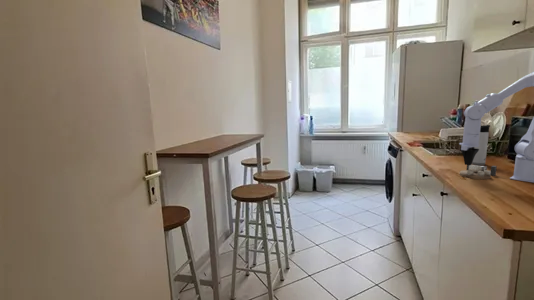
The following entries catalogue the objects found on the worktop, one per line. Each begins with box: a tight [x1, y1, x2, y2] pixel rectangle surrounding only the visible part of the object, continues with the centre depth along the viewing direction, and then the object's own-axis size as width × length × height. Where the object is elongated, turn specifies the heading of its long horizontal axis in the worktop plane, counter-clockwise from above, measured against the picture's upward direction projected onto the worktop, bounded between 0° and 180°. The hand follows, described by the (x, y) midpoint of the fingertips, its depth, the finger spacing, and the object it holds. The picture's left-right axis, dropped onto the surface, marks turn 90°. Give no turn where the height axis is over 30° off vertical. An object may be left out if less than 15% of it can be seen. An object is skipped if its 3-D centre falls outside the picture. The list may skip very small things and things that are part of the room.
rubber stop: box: [490, 165, 498, 177], centre depth 126 cm, size 1×2×4 cm, turn 128°
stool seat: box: [459, 169, 491, 180], centre depth 125 cm, size 11×11×3 cm
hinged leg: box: [465, 164, 488, 172], centre depth 127 cm, size 7×2×3 cm, turn 38°
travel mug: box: [471, 124, 491, 166], centre depth 146 cm, size 6×7×20 cm
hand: (467, 164), depth 125 cm, fingers closed
